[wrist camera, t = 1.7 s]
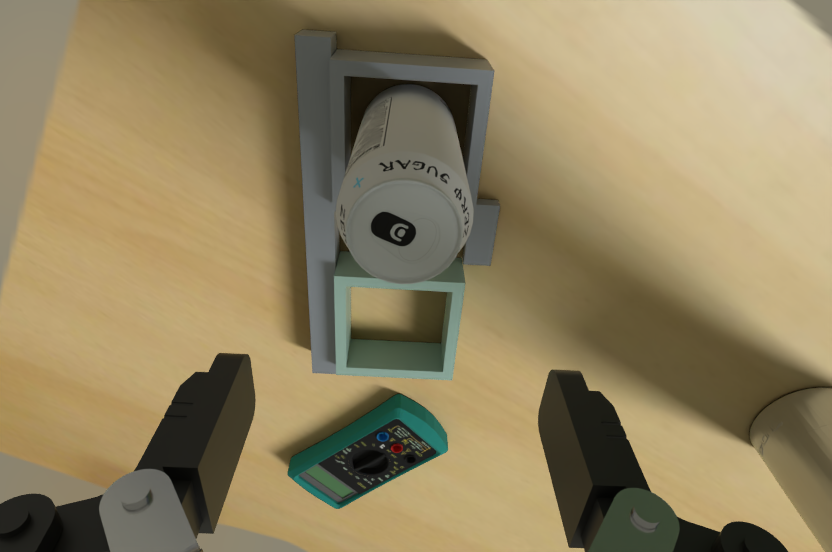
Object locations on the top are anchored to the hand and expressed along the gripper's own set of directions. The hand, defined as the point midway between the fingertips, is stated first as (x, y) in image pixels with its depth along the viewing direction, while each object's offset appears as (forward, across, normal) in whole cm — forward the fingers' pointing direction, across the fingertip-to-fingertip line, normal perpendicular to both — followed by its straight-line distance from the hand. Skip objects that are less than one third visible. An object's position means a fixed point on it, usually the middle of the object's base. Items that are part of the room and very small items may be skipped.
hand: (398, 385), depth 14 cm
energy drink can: (+24, 0, 0) cm, 24 cm away
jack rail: (+24, 0, +7) cm, 25 cm away
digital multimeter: (+24, +2, +31) cm, 39 cm away
